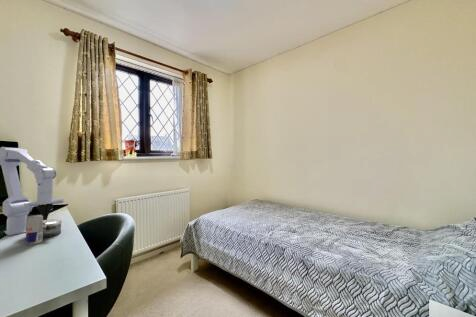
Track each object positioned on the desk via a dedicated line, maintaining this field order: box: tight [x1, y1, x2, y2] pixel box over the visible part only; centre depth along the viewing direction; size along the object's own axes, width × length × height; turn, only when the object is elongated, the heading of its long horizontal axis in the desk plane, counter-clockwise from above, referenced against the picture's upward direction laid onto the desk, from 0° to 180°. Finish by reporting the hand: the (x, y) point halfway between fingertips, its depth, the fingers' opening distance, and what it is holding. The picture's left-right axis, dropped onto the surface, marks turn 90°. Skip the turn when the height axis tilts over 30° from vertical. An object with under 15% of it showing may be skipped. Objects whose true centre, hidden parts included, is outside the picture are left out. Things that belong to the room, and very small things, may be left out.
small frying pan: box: [25, 218, 63, 230], centre depth 106 cm, size 19×13×1 cm
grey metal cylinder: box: [43, 223, 62, 240], centre depth 107 cm, size 13×13×5 cm
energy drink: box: [25, 214, 44, 246], centre depth 97 cm, size 5×5×12 cm
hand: (44, 219), depth 107 cm, fingers closed
